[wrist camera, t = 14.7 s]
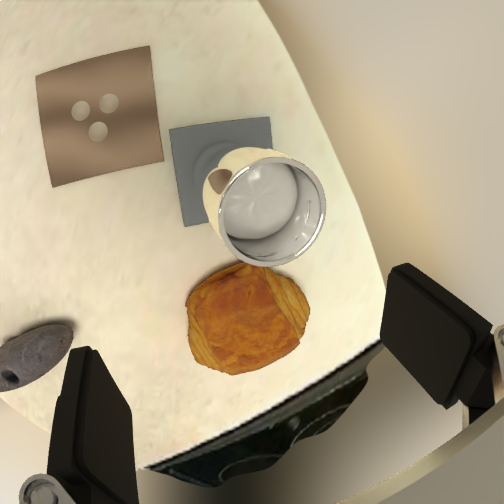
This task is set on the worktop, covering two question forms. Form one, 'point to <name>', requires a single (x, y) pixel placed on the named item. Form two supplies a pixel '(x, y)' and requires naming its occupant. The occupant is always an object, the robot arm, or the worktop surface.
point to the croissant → (245, 319)
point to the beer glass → (260, 202)
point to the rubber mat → (199, 138)
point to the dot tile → (99, 116)
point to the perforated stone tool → (33, 355)
